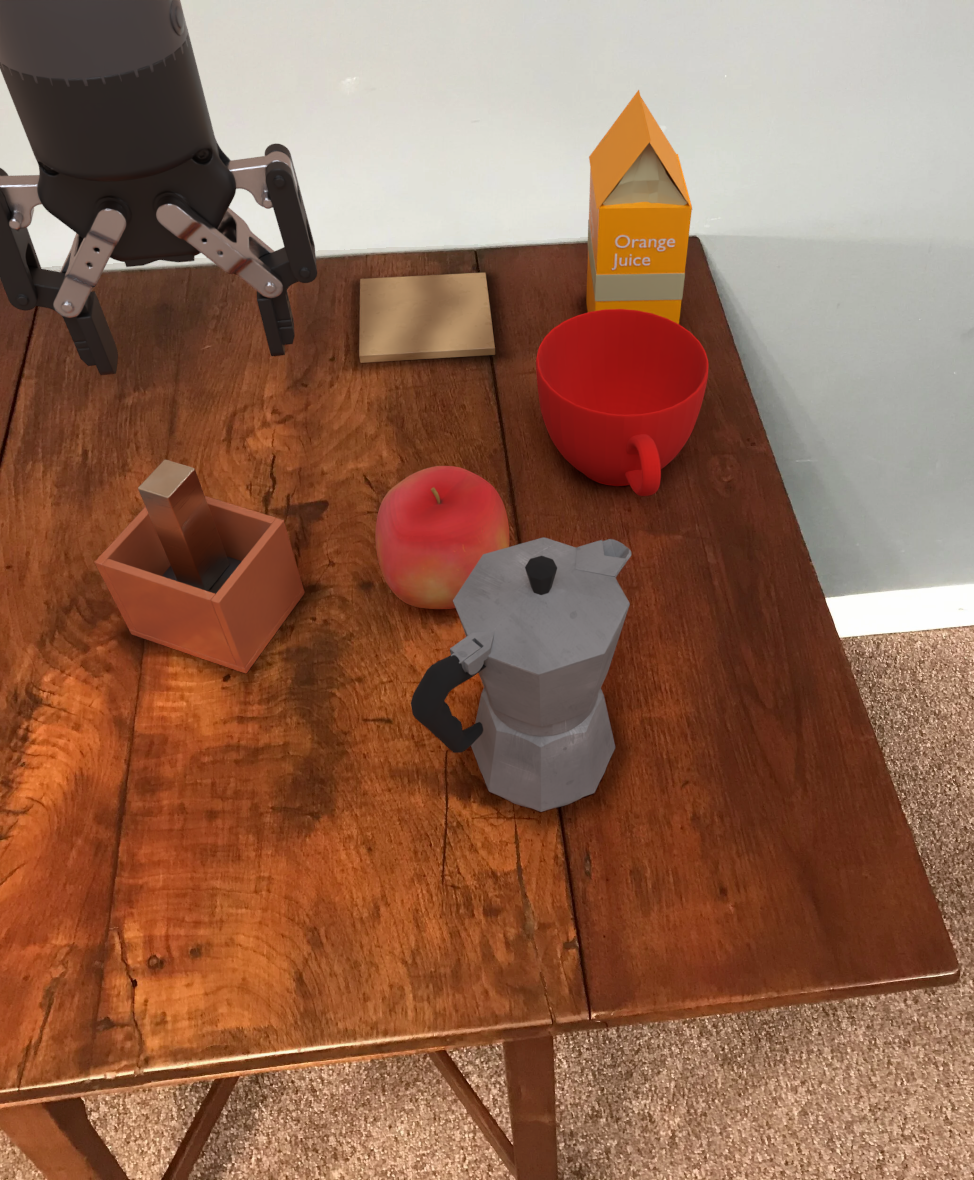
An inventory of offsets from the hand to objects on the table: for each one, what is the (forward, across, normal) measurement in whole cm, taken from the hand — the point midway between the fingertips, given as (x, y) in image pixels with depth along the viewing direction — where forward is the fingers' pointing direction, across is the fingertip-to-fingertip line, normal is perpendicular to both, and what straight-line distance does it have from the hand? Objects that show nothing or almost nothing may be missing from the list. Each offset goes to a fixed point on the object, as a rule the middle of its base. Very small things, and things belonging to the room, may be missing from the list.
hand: (194, 356), depth 54 cm
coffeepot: (+23, -15, +14) cm, 31 cm away
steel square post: (+23, +4, -2) cm, 23 cm away
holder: (+23, +4, -2) cm, 24 cm away
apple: (+24, -12, -1) cm, 26 cm away
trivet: (+23, -14, -34) cm, 44 cm away
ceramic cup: (+23, -27, -10) cm, 37 cm away
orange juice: (+23, -32, -30) cm, 50 cm away
